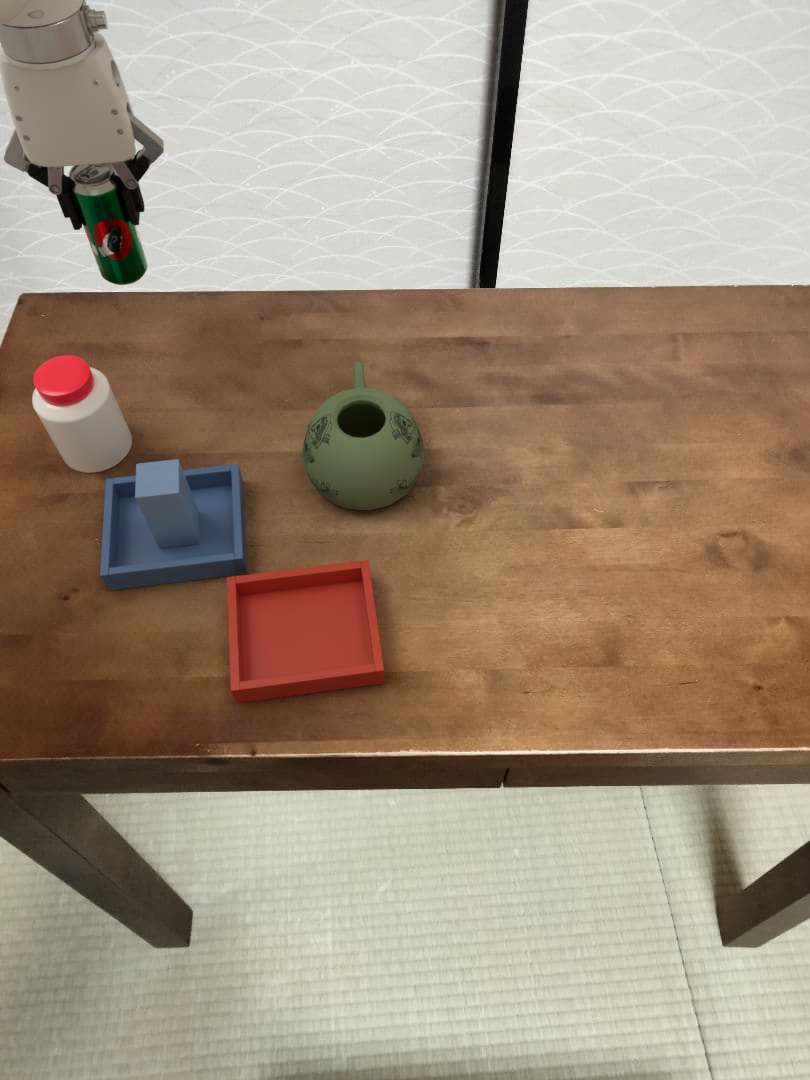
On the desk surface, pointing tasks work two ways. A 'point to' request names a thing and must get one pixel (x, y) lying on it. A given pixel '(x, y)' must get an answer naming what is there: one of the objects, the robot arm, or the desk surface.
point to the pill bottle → (80, 414)
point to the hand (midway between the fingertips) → (107, 217)
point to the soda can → (107, 223)
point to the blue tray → (143, 563)
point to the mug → (363, 447)
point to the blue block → (167, 503)
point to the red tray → (303, 631)
